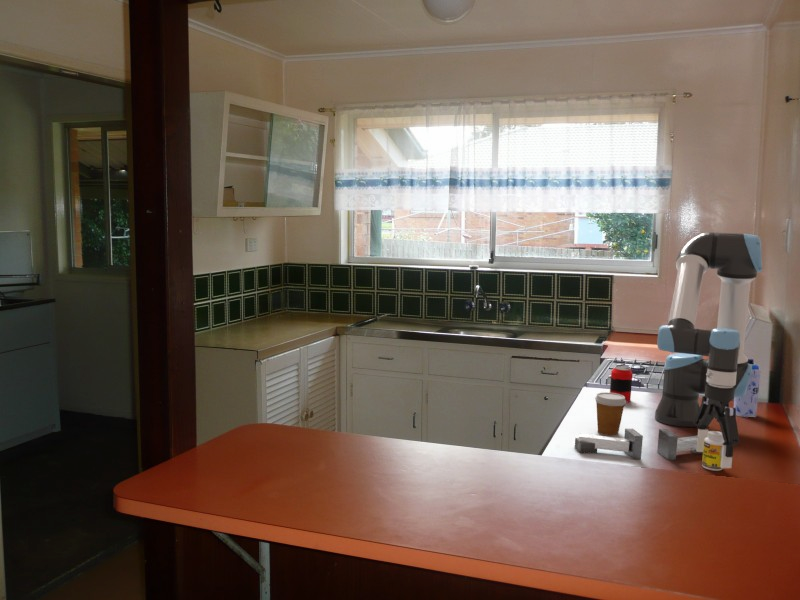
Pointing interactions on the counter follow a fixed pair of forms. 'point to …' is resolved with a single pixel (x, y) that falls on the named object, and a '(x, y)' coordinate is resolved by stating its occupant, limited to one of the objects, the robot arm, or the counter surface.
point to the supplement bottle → (712, 451)
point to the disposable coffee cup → (609, 412)
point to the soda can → (621, 382)
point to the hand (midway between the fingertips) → (713, 459)
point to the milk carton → (749, 394)
